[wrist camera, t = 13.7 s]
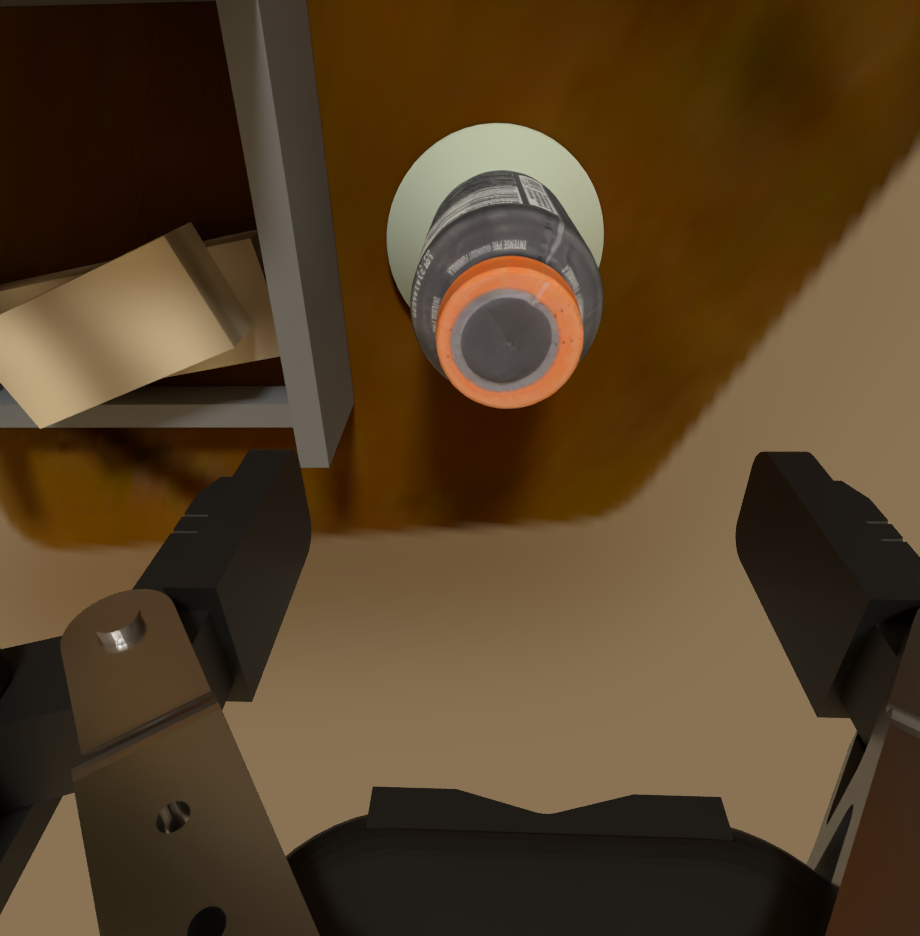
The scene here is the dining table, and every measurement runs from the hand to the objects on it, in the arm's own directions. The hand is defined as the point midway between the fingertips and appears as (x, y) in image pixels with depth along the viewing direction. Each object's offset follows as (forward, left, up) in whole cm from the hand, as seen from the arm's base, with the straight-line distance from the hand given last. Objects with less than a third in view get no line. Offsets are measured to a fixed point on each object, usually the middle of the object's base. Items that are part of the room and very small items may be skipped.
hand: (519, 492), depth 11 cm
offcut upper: (+16, +3, -17) cm, 23 cm away
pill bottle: (0, 0, -18) cm, 18 cm away
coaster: (0, 0, -19) cm, 19 cm away
